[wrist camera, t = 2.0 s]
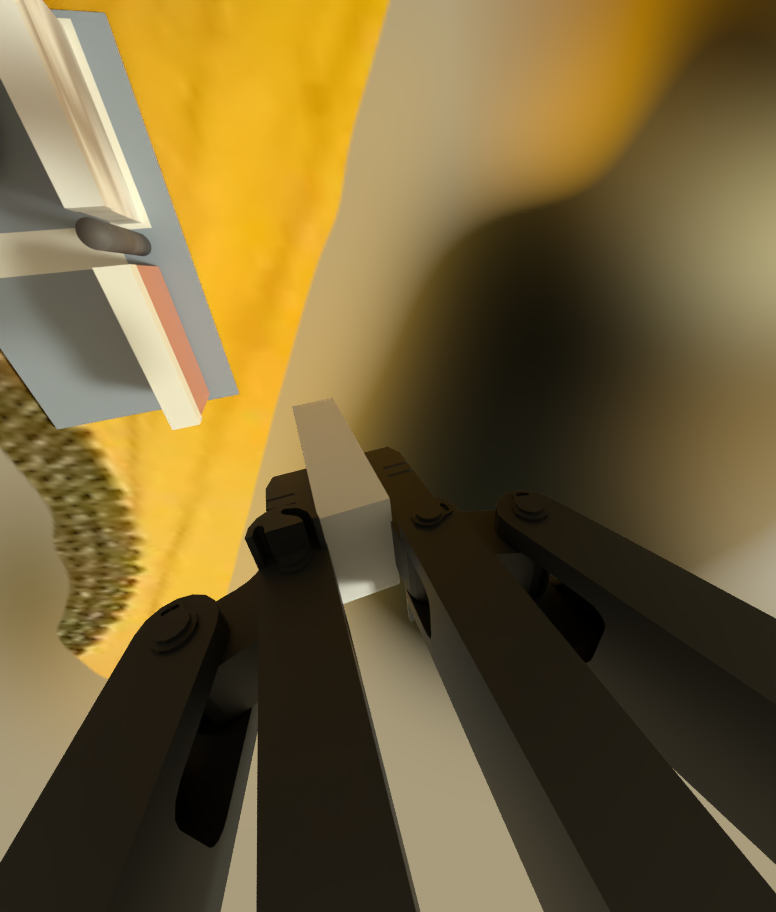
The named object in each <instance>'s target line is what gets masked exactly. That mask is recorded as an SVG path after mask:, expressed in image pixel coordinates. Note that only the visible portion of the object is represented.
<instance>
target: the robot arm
mask: <svg viewBox="0 0 776 912" xmlns="http://www.w3.org/2000/svg"><path fill="white" fill-rule="evenodd" d="M293 412H294V416H295V421H296V425H297V429H298V434H299V437H300V442H301V447H302V451H303V455H304V459H305V464H306V469H303V470H299V471H295V472H291V473H287V474H284V475H280V476H275V477H273V478H272V479H271V481H270V483H269V484H268V486H267V488H266V511H267V512H266V513H264V514H263V515H261V516H260V517H258V518H257V519H256V520H255V521H254V522H253V523H252V524H251V526H250V527H249V528H248V530H247V533H246V536H245V540H246V542H247V545H248V547H249V549H250V551H251V554H252V556H253V557H254V560H255V562H256V565H257V567H258V569H259V571H258V572H257V573H256V574H255V575H254V576H253V577H252V578H251V579H250V580H249V581H248V582H247V583H245V584H244V585H242V586H241V587H239V588H238V589H237V590H235V591H233V592H231V593H230V594H228V595H226V596H224V597H223V598H221V599H219V600H218V601H215V600H213V599H212V598H210V597H208V596H207V595H189V596H186V597H182V598H179V599H176V600H174V601H173V602H171V603H169V604H167V605H165V606H164V607H162V608H160V609H159V610H158V611H157V612H156V613H154V614H153V615H152V616H151V617H150V618H149V619H147V620H146V621H145V623H144V624H143V625H142V626H141V628H140V629H139V630H138V632H137V633H136V634H135V635H134V637H133V639H132V640H131V642H130V644H129V645H128V647H127V649H126V651H125V652H124V654H123V656H122V657H121V659H120V661H119V662H118V664H117V666H116V667H115V669H114V671H113V673H112V674H111V676H110V678H109V679H108V681H107V683H106V684H105V686H104V688H103V690H102V691H101V693H100V695H99V696H98V698H97V700H96V702H95V703H94V705H93V707H92V708H91V710H90V712H89V713H88V715H87V717H86V718H85V720H84V722H83V724H82V725H81V727H80V729H79V730H78V732H77V734H76V735H75V737H74V739H73V741H72V742H71V744H70V746H69V747H68V749H67V751H66V752H65V754H64V756H63V757H62V759H61V761H60V762H59V764H58V766H57V768H56V769H55V771H54V773H53V774H52V776H51V778H50V779H49V781H48V783H47V784H46V786H45V788H44V790H43V791H42V793H41V795H40V796H39V798H38V800H37V802H36V803H35V805H34V807H33V808H32V810H31V812H30V813H29V815H28V817H27V818H26V820H25V822H24V823H23V825H22V827H21V829H20V830H19V832H18V834H17V835H16V837H15V839H14V840H13V842H12V844H11V845H10V847H9V849H8V851H7V853H6V854H5V856H4V857H3V859H2V861H1V862H0V912H220V911H221V906H222V901H223V897H224V892H225V887H226V882H227V877H228V872H229V867H230V862H231V858H232V852H233V848H234V843H235V838H236V834H237V829H238V823H239V819H240V814H241V809H242V804H243V799H244V795H245V790H246V785H247V780H248V775H249V770H250V765H251V761H252V755H253V750H254V746H255V741H256V736H257V731H258V772H257V774H258V776H257V912H420V908H419V904H418V900H417V897H416V893H415V888H414V884H413V881H412V877H411V873H410V869H409V865H408V861H407V857H406V853H405V849H404V845H403V841H402V837H401V833H400V829H399V825H398V821H397V817H396V813H395V809H394V805H393V801H392V797H391V793H390V789H389V785H388V781H387V777H386V773H385V769H384V765H383V761H382V757H381V753H380V749H379V745H378V741H377V737H376V733H375V729H374V725H373V721H372V717H371V713H370V709H369V705H368V701H367V697H366V693H365V689H364V685H363V681H362V677H361V673H360V669H359V665H358V661H357V657H356V653H355V649H354V645H353V641H352V637H351V633H350V629H349V625H348V621H347V618H346V614H345V610H344V606H343V604H344V603H347V602H350V601H352V600H355V599H358V598H361V597H364V596H366V595H369V594H372V593H375V592H378V591H380V590H383V589H386V588H389V587H391V586H394V585H397V584H400V580H399V573H400V576H401V578H402V580H403V582H404V584H405V588H406V597H407V606H408V614H409V620H410V622H412V621H414V618H415V620H416V622H417V625H418V627H419V629H420V631H421V634H422V636H423V638H424V641H425V643H426V645H427V647H428V649H429V652H430V654H431V656H432V659H433V661H434V663H435V665H436V668H437V670H438V672H439V674H440V677H441V679H442V681H443V684H444V686H445V688H446V690H447V693H448V695H449V697H450V700H451V702H452V704H453V706H454V709H455V711H456V713H457V715H458V718H459V720H460V722H461V724H462V727H463V729H464V731H465V734H466V736H467V738H468V740H469V743H470V745H471V747H472V750H473V752H474V754H475V756H476V759H477V761H478V763H479V765H480V767H481V769H482V772H483V774H484V777H485V779H486V781H487V784H488V786H489V788H490V790H491V793H492V795H493V797H494V799H495V802H496V804H497V806H498V809H499V811H500V813H501V815H502V818H503V820H504V822H505V824H506V827H507V829H508V831H509V833H510V836H511V838H512V840H513V843H514V845H515V847H516V849H517V852H518V854H519V856H520V859H521V861H522V863H523V865H524V867H525V870H526V872H527V874H528V877H529V879H530V881H531V883H532V886H533V888H534V890H535V893H536V895H537V897H538V899H539V902H540V904H541V906H542V908H543V911H544V912H776V893H775V892H774V891H773V889H772V888H771V887H770V886H769V885H768V883H767V882H766V881H765V880H764V878H763V877H762V876H761V875H760V874H759V872H758V871H757V870H756V869H755V868H754V866H753V865H752V864H751V863H750V862H749V860H748V859H747V858H746V857H745V855H744V854H743V853H742V852H741V851H740V849H739V848H738V847H737V846H736V845H735V843H734V842H733V841H732V840H731V839H730V837H729V836H728V835H727V834H726V833H725V831H724V830H723V829H722V828H721V827H720V825H719V824H718V823H717V822H716V820H715V819H714V818H713V817H712V816H711V814H710V813H709V812H708V811H707V810H706V808H705V807H704V806H703V805H702V804H701V802H700V801H699V800H698V799H697V798H696V797H695V795H694V794H693V793H692V791H691V790H690V789H689V788H688V787H687V786H686V784H685V783H684V782H683V781H682V779H681V778H680V777H679V776H678V775H677V773H676V772H675V771H677V772H678V773H679V774H680V775H681V776H682V777H683V778H684V779H685V780H686V781H687V782H688V783H689V784H690V785H691V786H692V787H693V788H695V789H696V790H697V791H698V792H699V793H700V794H701V795H702V796H703V797H704V798H705V799H706V800H707V801H708V802H710V803H711V804H712V805H713V806H714V807H715V808H716V809H717V810H718V811H719V812H720V813H721V814H722V815H723V816H725V817H726V818H727V819H728V820H729V821H730V822H731V823H732V824H733V825H734V826H735V827H736V828H737V829H738V830H739V831H741V832H742V833H743V834H744V835H745V836H746V837H747V838H748V839H749V840H750V841H751V842H752V843H753V844H754V845H756V846H757V847H758V848H759V849H760V850H761V851H762V852H763V853H764V854H765V855H767V857H768V858H770V860H772V861H773V862H774V863H775V864H776V619H775V618H774V617H772V616H770V615H768V614H766V613H764V612H762V611H761V610H759V609H757V608H755V607H753V606H751V605H749V604H748V603H746V602H744V601H742V600H740V599H738V598H736V597H735V596H732V595H731V594H729V593H727V592H725V591H723V590H722V589H720V588H718V587H716V586H714V585H712V584H710V583H709V582H707V581H705V580H703V579H701V578H699V577H697V576H696V575H694V574H692V573H690V572H688V571H686V570H684V569H682V568H681V567H679V566H677V565H675V564H673V563H671V562H669V561H668V560H666V559H664V558H662V557H660V556H658V555H656V554H655V553H653V552H651V551H649V550H647V549H645V548H643V547H642V546H639V545H638V544H636V543H634V542H632V541H630V540H629V539H627V538H625V537H623V536H621V535H619V534H617V533H615V532H614V531H612V530H610V529H608V528H606V527H604V526H603V525H601V524H599V523H597V522H595V521H593V520H591V519H589V518H588V517H586V516H584V515H582V514H580V513H578V512H576V511H575V510H573V509H571V508H569V507H567V506H565V505H563V504H562V503H560V502H558V501H556V500H554V499H552V498H550V497H548V496H546V495H543V494H541V493H538V492H533V491H527V490H520V491H511V492H509V493H506V494H503V495H502V496H501V497H500V498H499V499H498V501H497V505H496V510H488V511H459V510H458V509H457V508H456V507H455V506H454V505H453V504H452V503H450V502H449V501H447V500H444V499H441V498H438V497H434V496H433V495H432V494H431V493H430V491H429V490H428V489H427V487H426V486H425V485H424V483H423V482H422V481H421V480H420V478H419V477H418V476H417V474H416V473H415V472H414V471H413V470H412V468H411V467H410V466H409V464H408V463H407V462H406V460H405V459H404V457H403V456H402V455H401V454H400V453H399V452H397V451H395V450H393V449H391V448H389V447H385V448H381V449H377V450H373V451H369V452H365V453H364V452H363V451H362V449H361V447H360V445H359V444H358V442H357V440H356V438H355V437H354V435H353V433H352V431H351V430H350V428H349V426H348V424H347V423H346V421H345V419H344V417H343V416H342V414H341V412H340V410H339V408H338V407H337V405H336V403H335V402H334V400H333V399H332V398H331V399H326V400H322V401H317V402H312V403H307V404H302V405H298V406H293ZM398 571H399V572H398ZM550 574H551V575H553V576H554V577H553V576H551V575H550ZM555 577H556V578H557V579H556V578H555ZM672 768H673V769H674V770H675V771H674V770H673V769H672Z"/></svg>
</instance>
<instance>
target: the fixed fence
mask: <svg viewBox="0 0 776 912" xmlns="http://www.w3.org/2000/svg"><path fill="white" fill-rule="evenodd" d="M0 78H1V80H2V82H3V84H4V86H5V89H6V91H7V93H8V95H9V97H10V99H11V101H12V103H13V105H14V107H15V109H16V111H17V113H18V115H19V117H20V119H21V121H22V123H23V125H24V127H25V129H26V131H27V133H28V135H29V137H30V139H31V141H32V143H33V145H34V147H35V149H36V151H37V153H38V155H39V158H40V160H41V162H42V164H43V166H44V168H45V170H46V172H47V174H48V176H49V178H50V180H51V182H52V184H53V186H54V188H55V190H56V192H57V194H58V196H59V198H60V200H61V202H62V204H63V206H64V208H65V209H68V210H71V211H74V212H82V213H85V214H88V215H91V216H94V217H97V218H100V219H103V220H106V221H109V222H112V223H115V224H118V225H123V224H137V223H142V221H141V219H140V216H139V214H138V211H137V209H136V206H135V204H134V201H133V199H132V196H131V194H130V191H129V189H128V186H127V184H126V181H125V179H124V176H123V174H122V171H121V169H120V166H119V164H118V161H117V159H116V156H115V154H114V151H113V149H112V146H111V144H110V141H109V139H108V136H107V134H106V131H105V129H104V126H103V124H102V121H101V119H100V116H99V114H98V111H97V109H96V106H95V104H94V101H93V99H92V96H91V94H90V91H89V89H88V86H87V84H86V81H85V79H84V76H83V74H82V71H81V69H80V66H79V64H78V61H77V59H76V56H75V54H74V51H73V49H72V46H71V44H70V41H69V39H68V36H67V34H66V31H65V29H64V26H63V25H62V24H61V23H60V21H59V20H58V19H57V18H56V16H55V15H54V14H53V13H52V11H51V10H50V9H49V8H48V7H47V5H46V4H45V3H44V2H43V0H0ZM75 231H76V234H77V236H78V238H79V239H80V240H81V242H82V243H84V244H85V245H86V246H87V247H89V248H91V249H94V250H99V251H107V252H115V253H122V254H130V255H137V256H147V255H148V254H150V252H151V244H150V242H149V240H148V239H147V238H146V237H145V236H144V235H143V234H141V233H138V232H135V231H132V230H128V229H125V228H122V227H119V226H116V225H113V224H110V223H106V222H103V221H100V220H97V219H94V218H90V217H82V218H80V219H79V220H78V221H77V222H76V224H75Z"/></svg>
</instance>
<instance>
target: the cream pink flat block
mask: <svg viewBox="0 0 776 912" xmlns="http://www.w3.org/2000/svg"><path fill="white" fill-rule="evenodd" d="M92 269H93V271H94V273H95V275H96V277H97V279H98V281H99V283H100V285H101V287H102V289H103V291H104V293H105V295H106V297H107V299H108V301H109V303H110V305H111V307H112V309H113V311H114V313H115V315H116V317H117V319H118V321H119V323H120V325H121V327H122V329H123V331H124V333H125V335H126V337H127V340H128V342H129V344H130V346H131V348H132V350H133V352H134V354H135V356H136V358H137V360H138V362H139V364H140V366H141V368H142V370H143V372H144V374H145V376H146V378H147V380H148V382H149V384H150V386H151V388H152V390H153V392H154V394H155V396H156V398H157V400H158V402H159V404H160V406H161V408H162V410H163V412H164V414H165V416H166V418H167V420H168V422H169V424H170V426H171V428H172V430H175V429H180V428H185V427H190V426H195V425H199V424H200V423H201V420H202V417H201V414H202V412H203V409H204V407H205V405H206V402H207V400H208V397H209V395H210V393H209V390H208V388H207V385H206V383H205V380H204V378H203V375H202V373H201V370H200V368H199V365H198V363H197V360H196V358H195V355H194V353H193V350H192V348H191V345H190V343H189V340H188V338H187V335H186V333H185V330H184V328H183V325H182V323H181V320H180V318H179V315H178V313H177V311H176V308H175V306H174V303H173V301H172V298H171V296H170V293H169V291H168V288H167V286H166V283H165V281H164V278H163V276H162V273H161V271H160V268H159V266H143V265H133V264H127V265H116V266H106V267H96V268H92Z"/></svg>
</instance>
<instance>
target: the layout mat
mask: <svg viewBox="0 0 776 912" xmlns="http://www.w3.org/2000/svg"><path fill="white" fill-rule="evenodd" d="M51 11H52V13H53V14H54V15H55V16H56V18H57V19H58V20H59V21H60V23H61V24H62V25H63V26H64V29H65V31H66V34H67V36H68V39H69V41H70V44H71V46H72V49H73V51H74V54H75V56H76V59H77V61H78V64H79V66H80V69H81V71H82V74H83V76H84V79H85V81H86V84H87V86H88V89H89V91H90V94H91V96H92V99H93V101H94V104H95V106H96V109H97V111H98V114H99V116H100V119H101V121H102V124H103V126H104V129H105V131H106V134H107V136H108V139H109V141H110V144H111V146H112V149H113V151H114V154H115V156H116V159H117V161H118V164H119V166H120V169H121V171H122V174H123V176H124V179H125V181H126V184H127V186H128V189H129V191H130V194H131V196H132V199H133V201H134V204H135V206H136V209H137V211H138V214H139V216H140V219H141V221H142V223H137V224H123V225H118V224H115V223H112V222H109V221H106V220H103V219H100V218H97V217H94V216H91V215H88V214H85V213H82V212H74V211H71V210H68V209H65V208H64V206H63V204H62V202H61V200H60V198H59V196H58V194H57V192H56V190H55V188H54V186H53V184H52V182H51V180H50V178H49V176H48V174H47V172H46V170H45V168H44V166H43V164H42V162H41V160H40V158H39V155H38V153H37V151H36V149H35V147H34V145H33V143H32V141H31V139H30V137H29V135H28V133H27V131H26V129H25V127H24V125H23V123H22V121H21V119H20V117H19V115H18V113H17V111H16V109H15V107H14V105H13V103H12V101H11V99H10V97H9V95H8V93H7V91H6V89H5V86H4V84H3V82H2V80H1V78H0V349H1V350H2V351H3V353H4V354H5V356H6V357H7V359H8V360H9V361H10V363H11V364H12V366H13V367H14V369H15V370H16V371H17V373H18V374H19V376H20V377H21V379H22V380H23V381H24V383H25V384H26V386H27V387H28V389H29V390H30V391H31V393H32V394H33V396H34V397H35V398H36V400H37V401H38V403H39V404H40V406H41V407H42V408H43V410H44V411H45V413H46V414H47V416H48V417H49V418H50V420H51V421H52V423H53V424H54V426H55V427H56V428H57V429H62V428H67V427H72V426H77V425H82V424H87V423H93V422H98V421H103V420H108V419H113V418H118V417H124V416H129V415H134V414H139V413H144V412H150V411H155V410H160V409H162V408H161V406H160V404H159V402H158V400H157V398H156V396H155V394H154V392H153V390H152V388H151V386H150V384H149V382H148V380H147V378H146V376H145V374H144V372H143V370H142V368H141V366H140V364H139V362H138V360H137V358H136V356H135V354H134V352H133V350H132V348H131V346H130V344H129V342H128V340H127V337H126V335H125V333H124V331H123V329H122V327H121V325H120V323H119V321H118V319H117V317H116V315H115V313H114V311H113V309H112V307H111V305H110V303H109V301H108V299H107V297H106V295H105V293H104V291H103V289H102V287H101V285H100V283H99V281H98V279H97V277H96V275H95V273H94V271H93V269H92V268H96V267H106V266H116V265H127V264H133V265H143V266H159V268H160V271H161V273H162V276H163V278H164V281H165V283H166V286H167V288H168V291H169V293H170V296H171V298H172V301H173V303H174V306H175V308H176V311H177V313H178V315H179V318H180V320H181V323H182V325H183V328H184V330H185V333H186V335H187V338H188V340H189V343H190V345H191V348H192V350H193V353H194V355H195V358H196V360H197V363H198V365H199V368H200V370H201V373H202V375H203V378H204V380H205V383H206V385H207V388H208V390H209V393H210V395H209V397H208V400H212V399H217V398H222V397H227V396H232V395H238V394H239V391H238V389H237V386H236V383H235V380H234V377H233V374H232V372H231V369H230V366H229V363H228V360H227V357H226V355H225V352H224V349H223V346H222V343H221V340H220V337H219V335H218V332H217V329H216V326H215V323H214V320H213V318H212V315H211V312H210V309H209V306H208V303H207V300H206V298H205V295H204V292H203V289H202V286H201V283H200V281H199V278H198V275H197V272H196V269H195V266H194V263H193V261H192V258H191V255H190V252H189V249H188V246H187V244H186V241H185V238H184V235H183V232H182V229H181V226H180V224H179V221H178V218H177V215H176V212H175V209H174V207H173V204H172V201H171V198H170V195H169V192H168V189H167V187H166V184H165V181H164V178H163V175H162V172H161V170H160V167H159V164H158V161H157V158H156V155H155V153H154V150H153V147H152V144H151V141H150V138H149V135H148V133H147V130H146V127H145V124H144V121H143V118H142V116H141V113H140V110H139V107H138V104H137V101H136V98H135V96H134V93H133V90H132V87H131V84H130V81H129V79H128V76H127V73H126V70H125V67H124V64H123V61H122V59H121V56H120V53H119V50H118V47H117V44H116V42H115V39H114V36H113V33H112V30H111V27H110V24H109V22H108V19H107V16H106V15H105V13H100V12H83V11H67V10H51ZM82 217H90V218H94V219H97V220H100V221H103V222H106V223H110V224H113V225H116V226H119V227H122V228H125V229H128V230H132V231H135V232H138V233H141V234H143V235H144V236H145V237H146V238H147V239H148V240H149V242H150V244H151V252H150V254H148V255H147V256H137V255H130V254H122V253H115V252H107V251H99V250H94V249H91V248H89V247H87V246H86V245H85V244H84V243H82V242H81V240H80V239H79V238H78V236H77V234H76V231H75V224H76V222H77V221H78V220H79V219H80V218H82Z"/></svg>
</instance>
